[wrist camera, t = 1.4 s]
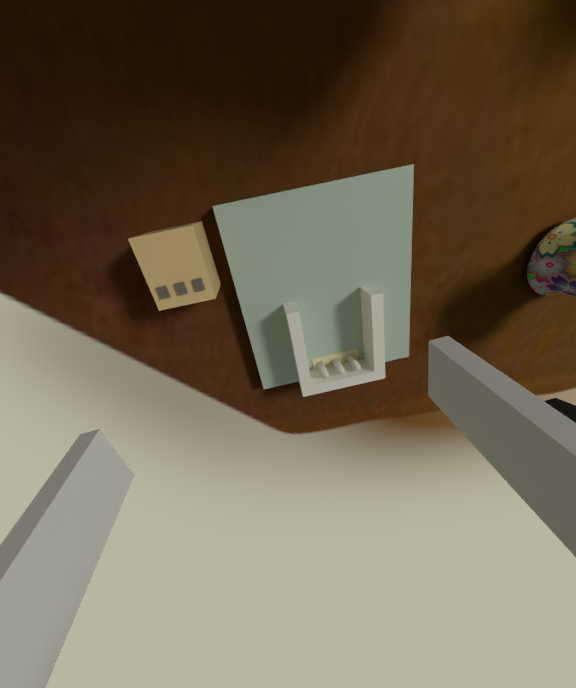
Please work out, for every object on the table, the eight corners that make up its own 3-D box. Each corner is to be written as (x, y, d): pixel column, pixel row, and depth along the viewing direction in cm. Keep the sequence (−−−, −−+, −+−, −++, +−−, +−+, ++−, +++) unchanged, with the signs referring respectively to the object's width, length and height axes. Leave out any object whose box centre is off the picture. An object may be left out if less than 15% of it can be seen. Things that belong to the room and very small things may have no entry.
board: (214, 206, 25) (207, 206, 21) (405, 166, 26) (433, 159, 22) (263, 382, 35) (265, 405, 31) (402, 350, 35) (422, 369, 31)
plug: (148, 232, 26) (126, 239, 21) (201, 221, 26) (191, 225, 21) (172, 293, 29) (158, 311, 24) (220, 283, 29) (215, 299, 24)
